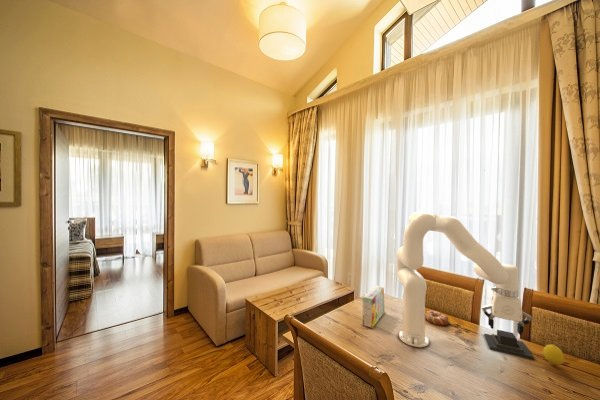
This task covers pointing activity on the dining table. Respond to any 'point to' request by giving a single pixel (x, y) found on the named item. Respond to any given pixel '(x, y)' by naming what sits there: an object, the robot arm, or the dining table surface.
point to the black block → (506, 338)
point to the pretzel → (436, 318)
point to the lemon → (553, 354)
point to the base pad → (508, 347)
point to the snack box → (373, 306)
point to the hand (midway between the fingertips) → (505, 330)
